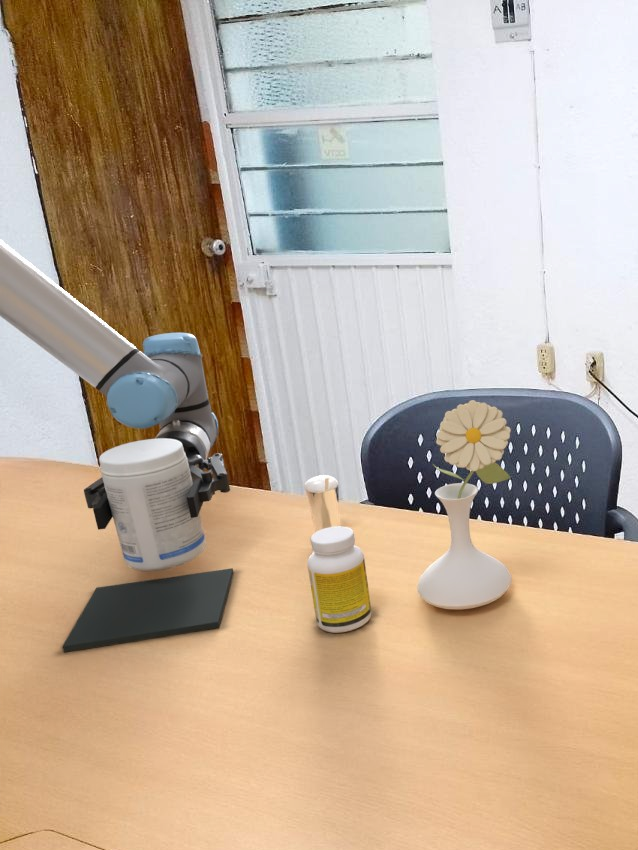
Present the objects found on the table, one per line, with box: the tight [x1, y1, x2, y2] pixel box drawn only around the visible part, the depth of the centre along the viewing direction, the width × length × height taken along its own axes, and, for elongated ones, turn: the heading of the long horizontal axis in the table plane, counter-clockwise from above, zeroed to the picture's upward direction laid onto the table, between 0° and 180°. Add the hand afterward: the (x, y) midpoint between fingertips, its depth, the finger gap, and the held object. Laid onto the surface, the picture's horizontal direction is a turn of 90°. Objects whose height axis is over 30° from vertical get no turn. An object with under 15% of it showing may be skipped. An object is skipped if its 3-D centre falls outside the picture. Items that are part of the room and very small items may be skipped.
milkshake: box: [303, 474, 341, 533], centre depth 116 cm, size 5×5×10 cm
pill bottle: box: [307, 525, 372, 634], centre depth 95 cm, size 6×6×11 cm
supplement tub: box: [98, 438, 207, 572], centre depth 105 cm, size 10×10×15 cm
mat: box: [61, 567, 234, 653], centre depth 100 cm, size 16×14×1 cm
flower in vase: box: [416, 399, 512, 610], centre depth 97 cm, size 13×11×25 cm
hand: (146, 513), depth 100 cm, fingers closed on supplement tub, 9 cm apart
